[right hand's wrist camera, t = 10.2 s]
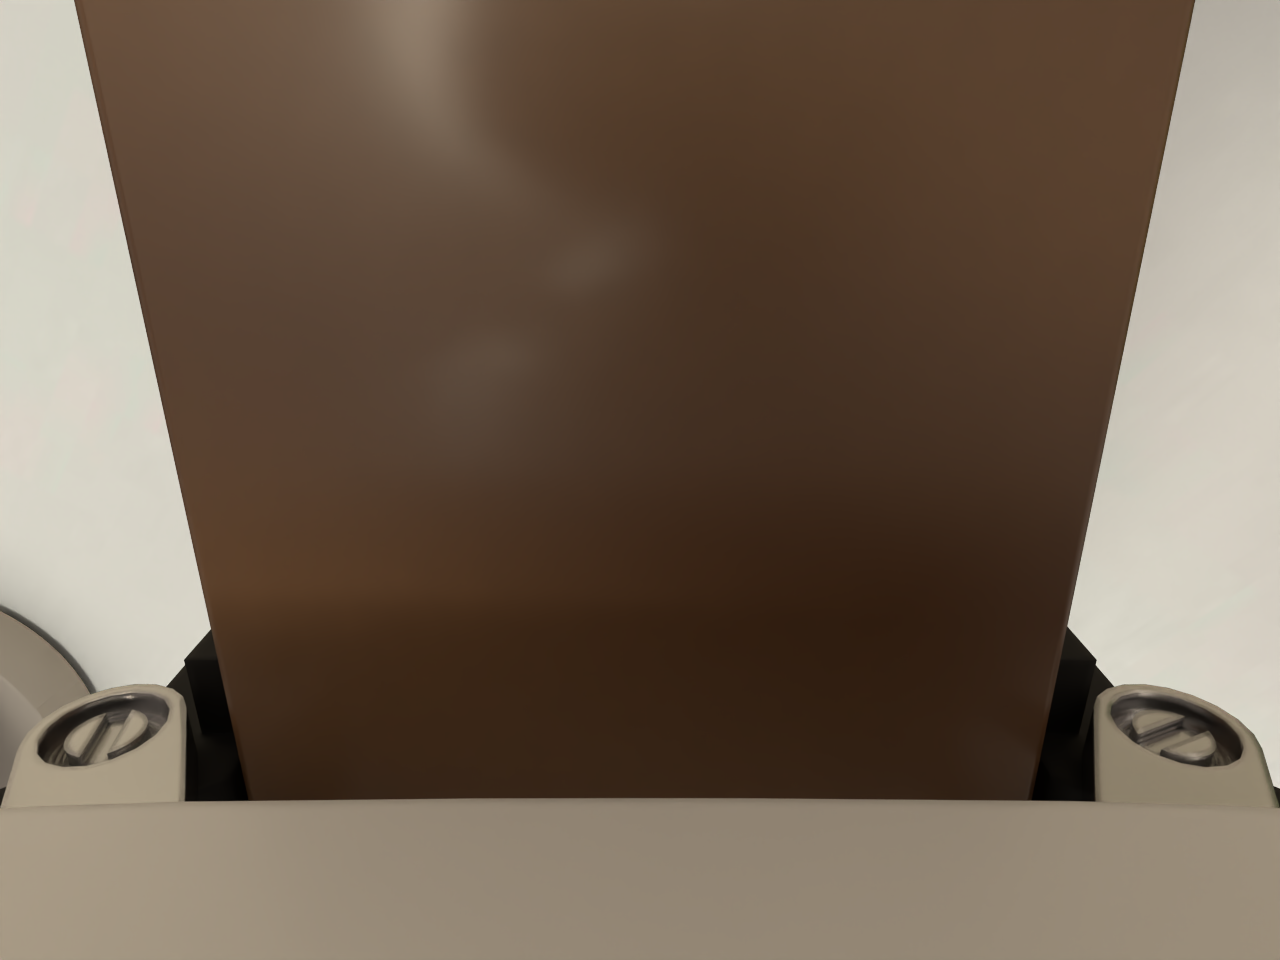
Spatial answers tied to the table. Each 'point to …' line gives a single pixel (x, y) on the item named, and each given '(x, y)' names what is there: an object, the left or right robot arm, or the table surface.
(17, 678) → the bust sculpture
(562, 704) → the beam
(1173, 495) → the table surface
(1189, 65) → the table surface
